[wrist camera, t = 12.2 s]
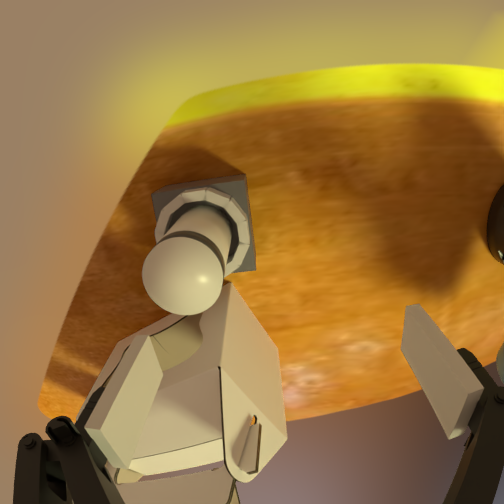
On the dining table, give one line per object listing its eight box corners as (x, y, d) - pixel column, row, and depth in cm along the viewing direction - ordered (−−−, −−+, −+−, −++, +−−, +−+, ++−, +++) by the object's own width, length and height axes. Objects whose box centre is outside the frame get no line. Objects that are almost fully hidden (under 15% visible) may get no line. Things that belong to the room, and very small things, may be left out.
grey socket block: (245, 173, 38) (243, 182, 30) (255, 251, 41) (256, 277, 34) (165, 185, 38) (145, 197, 31) (179, 260, 42) (165, 287, 34)
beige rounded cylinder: (236, 255, 35) (228, 312, 24) (182, 261, 35) (153, 317, 24) (228, 201, 33) (215, 234, 22) (172, 208, 33) (133, 245, 22)
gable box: (166, 395, 50) (129, 536, 24) (116, 342, 47) (42, 483, 20) (279, 348, 47) (298, 522, 20) (232, 280, 43) (209, 466, 16)
